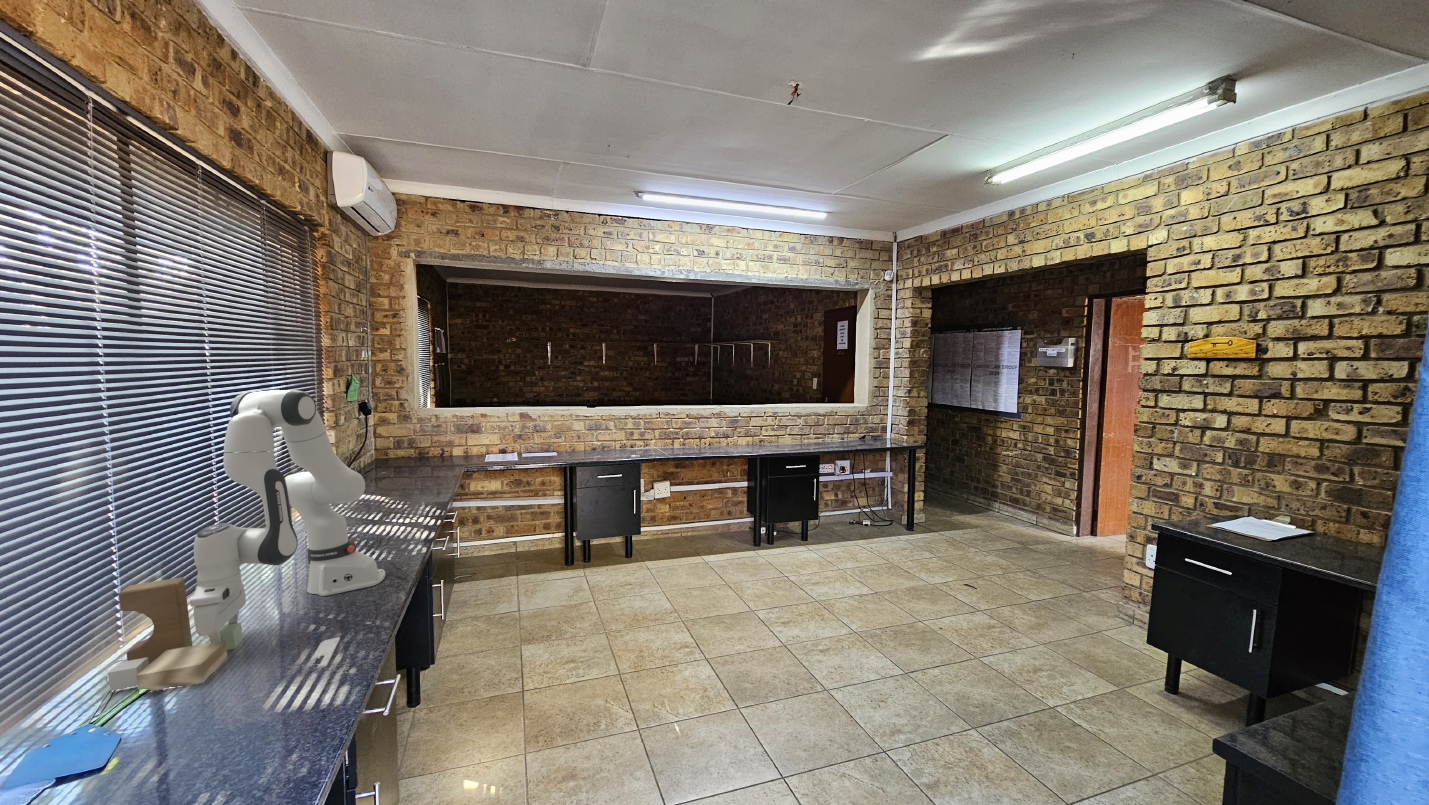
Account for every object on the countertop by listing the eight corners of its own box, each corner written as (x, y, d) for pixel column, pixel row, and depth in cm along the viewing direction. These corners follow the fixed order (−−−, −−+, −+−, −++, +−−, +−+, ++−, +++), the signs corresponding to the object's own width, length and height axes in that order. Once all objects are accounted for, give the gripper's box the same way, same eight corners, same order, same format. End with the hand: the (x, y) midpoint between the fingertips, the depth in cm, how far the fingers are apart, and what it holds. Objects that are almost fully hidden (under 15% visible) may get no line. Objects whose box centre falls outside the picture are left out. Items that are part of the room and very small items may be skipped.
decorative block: (127, 670, 142) (117, 593, 140) (138, 660, 147) (128, 584, 145) (185, 659, 147) (176, 583, 145) (193, 649, 152) (185, 576, 150)
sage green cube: (242, 640, 156) (240, 622, 156) (235, 648, 151) (233, 630, 151) (220, 644, 154) (218, 626, 154) (211, 653, 150) (209, 634, 149)
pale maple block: (227, 659, 147) (225, 640, 146) (203, 684, 135) (200, 664, 135) (169, 669, 143) (166, 650, 142) (139, 696, 131) (136, 675, 131)
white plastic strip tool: (302, 673, 139) (301, 668, 139) (318, 644, 153) (318, 640, 153) (326, 667, 141) (326, 663, 141) (340, 640, 155) (340, 636, 155)
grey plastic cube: (150, 677, 139) (147, 657, 138) (138, 687, 134) (136, 667, 134) (123, 681, 137) (121, 662, 137) (110, 693, 132) (108, 672, 132)
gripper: (222, 574, 160) (227, 622, 161) (186, 603, 141) (192, 657, 142) (250, 571, 162) (255, 618, 163) (218, 598, 143) (223, 651, 144)
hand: (225, 636), depth 152 cm, fingers open, 8 cm apart
